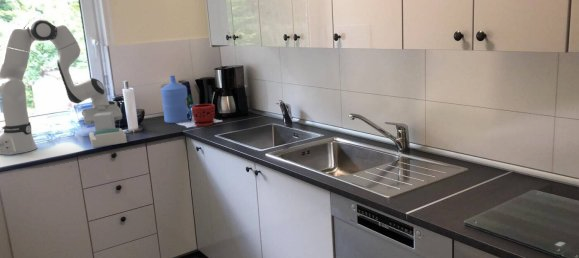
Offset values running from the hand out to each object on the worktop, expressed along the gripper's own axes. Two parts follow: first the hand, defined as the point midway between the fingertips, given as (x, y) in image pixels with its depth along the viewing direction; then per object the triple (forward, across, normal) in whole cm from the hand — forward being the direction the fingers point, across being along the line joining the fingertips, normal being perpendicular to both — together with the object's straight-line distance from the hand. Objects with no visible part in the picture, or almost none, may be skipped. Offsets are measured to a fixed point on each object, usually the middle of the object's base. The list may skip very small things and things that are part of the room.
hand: (105, 127), depth 290 cm
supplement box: (+9, 0, 0) cm, 9 cm away
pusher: (+13, 0, -5) cm, 14 cm away
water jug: (-9, +44, +20) cm, 49 cm away
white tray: (+10, 0, -1) cm, 10 cm away
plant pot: (+8, +55, +2) cm, 55 cm away
